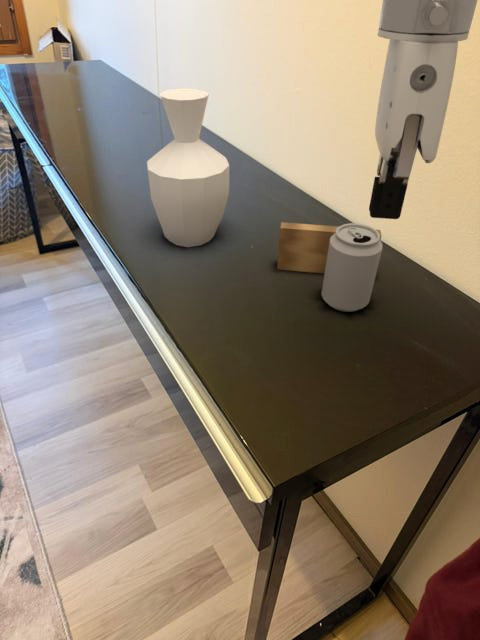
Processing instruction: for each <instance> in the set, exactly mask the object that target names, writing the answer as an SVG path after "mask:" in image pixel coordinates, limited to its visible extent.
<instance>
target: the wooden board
mask: <svg viewBox="0 0 480 640" xmlns="http://www.w3.org/2000/svg"><path fill="white" fill-rule="evenodd" d="M338 227H339V226H336V225H323V224H312V223H311V224H309V223H299V222H287V221H286V222H284V221H281V222H280V227H279V228H280V231H279V240H278V241H279V242H278V255H277V264H276V265H277V266H276V270H281V271H290V272H291V271H292V272H304V273H315V274H325V268H326V262H327V255H328V249H329V243H330V237H331V236H332V235H333V234H335V233H336V229H337V228H338ZM376 230H377V231H378V232H379V234H380V241H381V240H382V231H381V229H376Z"/></svg>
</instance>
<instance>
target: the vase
mask: <svg viewBox="0 0 480 640" xmlns="http://www.w3.org/2000/svg"><path fill="white" fill-rule="evenodd" d="M159 95H160V99H161V103H162V105H163V108H164V111H165V114H166V117H167V120H168V123H169V126H170V129H171V132H172V136H173V138H174V139H172V140H171V141H170V142H168V144H166V145H165V146H164V147H163V148H161V149H160V150H159V151H158V152H156V153H155V154H154V155H153V156H152V157H150V158H149V159H148V160H147V161H146V165H147V176H148V184H149V194H150V200H151V203H152V206H153V209H154V212H155V214H156V216H157V219H158V222H159V224H160V227H161V229H162V233H163V236H164V237H165V238H166V239H167V241H169V242H170V243H172V244H174V245H175V246H179V247H185V248H193V247H199V246H202V245H205V244H207V243H209V242H210V241H211V240H212V239H213V238H214V237H215V235H216V232H217V231H218V228H219V226H220V224H221V221H222V220H223V217H224V214H225V210H226V207H227V203H228V199H229V196H230V164H229V161H228V159H227V157H225V155H223V154H221V153H220V152H219V151H218V150H216V149H215V148H213V147H212V146H210V144H208V143H206V142H205V141H203V140H202V139H201V138H200V135H201V131H202V126H203V122H204V117H205V113H206V108H207V105H208V104H207V103H208V99H209V93H208V92H207V91H205V90H202V89H199V88H198V89H197V88H189V87H187V88H186V87H185V88H182V87H181V88H172V89H165V90H164V91H161V92H160V93H159Z"/></svg>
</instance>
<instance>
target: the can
mask: <svg viewBox="0 0 480 640" xmlns="http://www.w3.org/2000/svg"><path fill="white" fill-rule="evenodd" d="M337 227H338V228H337V229H336V233H335V234H333V235H332V236H331V237H330V243H329V249H328V255H327V262H326V268H325V274H324V273H323V274H324V275H323V280H322V287H321V297H322V299H323V301H324V302H325V303H326V304H328V306H329V307H331V308H333V309H334V310H337V311H340V312H346V313H349V312H350V313H351V312H357V311H358V310H361V309H364V308H365V307H367V306H368V304H369V303H370V301H371V296H372V293H373V289H374V284H375V282H376V281H375V280H376V277H377V272H378V268H379V265H380V261H381V256H382V252H383V242H382V241H381V240H380V234H379V232H378V231H377V230H378V229H376V228H374V227H372V226H370V225H366V224H363V223H358V222H357V223H356V222H355V223H354V222H353V223H344V224H341V225H339V226H337Z"/></svg>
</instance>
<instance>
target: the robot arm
mask: <svg viewBox="0 0 480 640" xmlns="http://www.w3.org/2000/svg"><path fill="white" fill-rule="evenodd" d="M477 3H478V0H382V6H381V11H380V18H379V23H378V30H377V31H378V32H377V36H378V37H379V38H383V39H386V40H389V42H388V46H387V52H386V57H385V63H384V67H383V74H382V80H381V83H380V84H381V85H380V89H379V90H380V91H379V96H378V104H377V109H376V110H377V111H376V118H375V126H374V127H375V128H374V137H375V140H376V144H377V148H378V151H379V157H378V163H377V169H376V176H374V179H373V185H372V191H371V196H370V202H369V205H368V210H369V216H370V218H372V219H385V220H387V219H388V220H398V219H400V217H401V215H402V212H403V211H402V210H403V206H404V203H405V202H404V201H405V197H406V194H407V190H408V185H409V184H408V183H409V179H410V176H411V172H412V168H413V164H414V161H415V158H416V154H417V151H418V152H419V154H420V156H421V159H422V160H423V161H424V163H426V164H431V163H433V162H434V161H435V160H436V158H437V155H438V150H439V146H440V142H441V136H442V132H443V128H444V125H445V120H446V119H445V118H446V114H447V110H448V105H449V100H450V96H451V90H452V87H453V82H454V81H453V80H454V76H455V75H454V74H455V69H456V63H457V55H458V48H459V42H462V41H466V40H468V38H469V34H470V30H471V26H472V22H473V19H474V15H475V12H476V7H477V5H478V4H477Z"/></svg>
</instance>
